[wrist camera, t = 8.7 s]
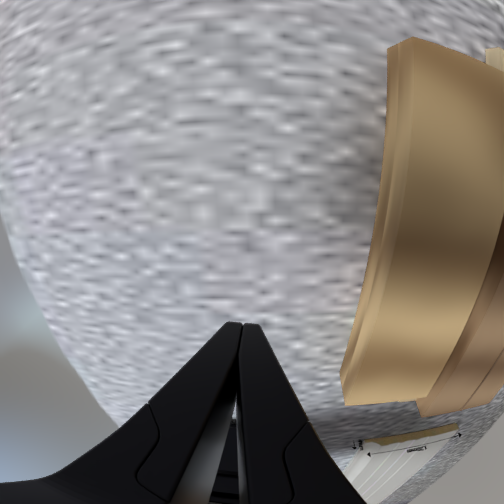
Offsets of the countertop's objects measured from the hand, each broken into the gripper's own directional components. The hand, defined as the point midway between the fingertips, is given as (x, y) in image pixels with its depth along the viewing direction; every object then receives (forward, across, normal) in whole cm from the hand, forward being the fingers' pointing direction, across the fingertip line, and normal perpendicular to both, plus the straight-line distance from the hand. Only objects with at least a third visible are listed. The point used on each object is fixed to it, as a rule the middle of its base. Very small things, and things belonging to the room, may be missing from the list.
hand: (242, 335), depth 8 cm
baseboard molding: (+8, -16, +34) cm, 38 cm away
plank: (+7, -8, 0) cm, 11 cm away
